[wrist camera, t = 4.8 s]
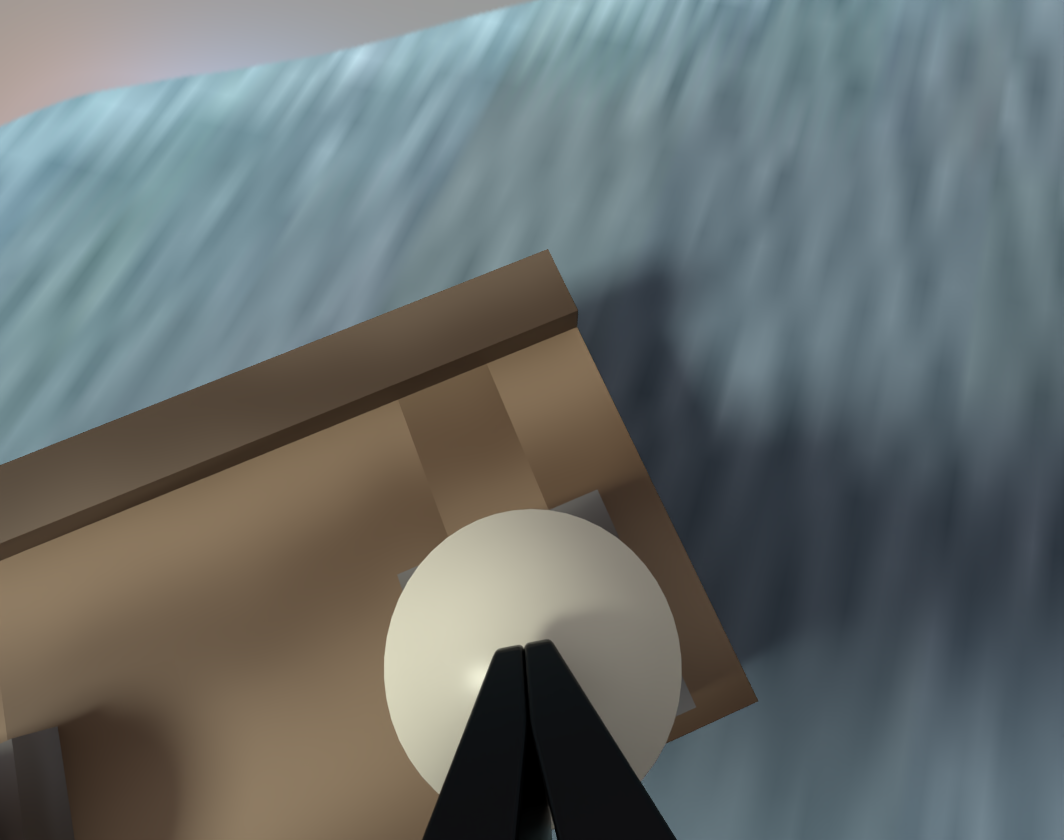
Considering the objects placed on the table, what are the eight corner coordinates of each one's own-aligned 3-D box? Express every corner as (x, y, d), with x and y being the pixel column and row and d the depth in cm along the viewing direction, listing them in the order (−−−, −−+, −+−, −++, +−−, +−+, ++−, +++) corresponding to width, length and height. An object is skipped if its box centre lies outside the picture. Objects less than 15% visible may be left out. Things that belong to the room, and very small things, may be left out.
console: (718, 678, 17) (777, 711, 12) (-38, 1022, 15) (-293, 1205, 11) (551, 322, 20) (547, 244, 15) (-80, 577, 19) (-286, 573, 14)
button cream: (661, 580, 15) (720, 574, 9) (597, 768, 14) (621, 891, 8) (495, 512, 15) (457, 468, 10) (421, 685, 14) (332, 745, 9)
